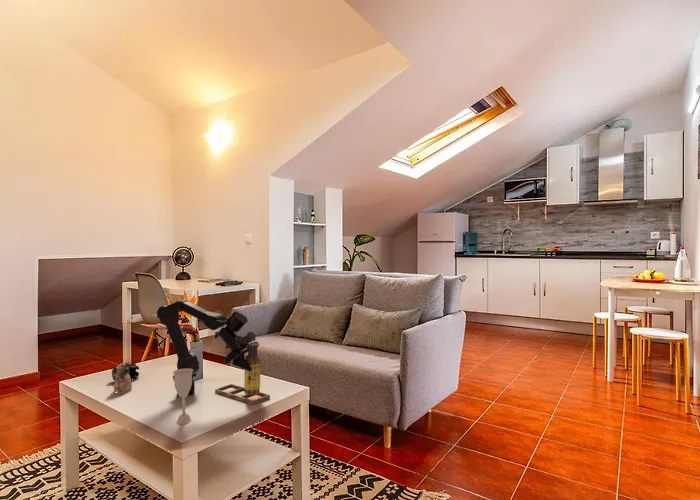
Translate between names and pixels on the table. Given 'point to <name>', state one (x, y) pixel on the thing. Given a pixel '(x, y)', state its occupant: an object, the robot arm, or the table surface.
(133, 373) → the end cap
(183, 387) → the chalice
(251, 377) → the sauce bottle
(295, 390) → the table surface
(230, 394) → the brown compartment tray
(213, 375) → the table surface
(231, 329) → the robot arm
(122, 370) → the figurine
